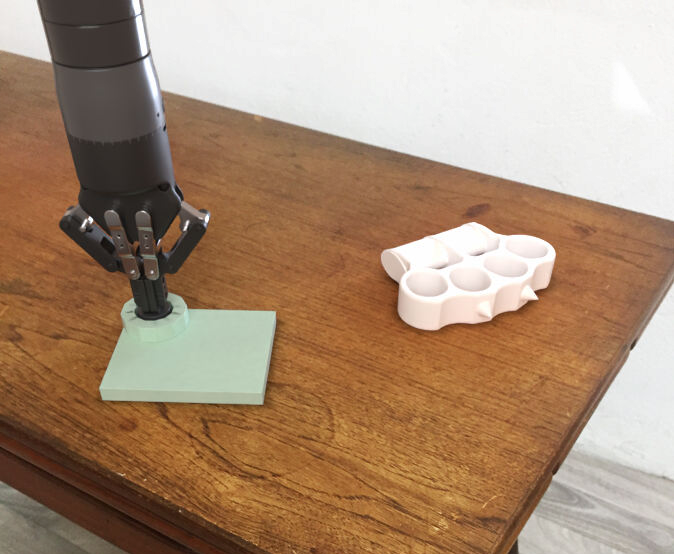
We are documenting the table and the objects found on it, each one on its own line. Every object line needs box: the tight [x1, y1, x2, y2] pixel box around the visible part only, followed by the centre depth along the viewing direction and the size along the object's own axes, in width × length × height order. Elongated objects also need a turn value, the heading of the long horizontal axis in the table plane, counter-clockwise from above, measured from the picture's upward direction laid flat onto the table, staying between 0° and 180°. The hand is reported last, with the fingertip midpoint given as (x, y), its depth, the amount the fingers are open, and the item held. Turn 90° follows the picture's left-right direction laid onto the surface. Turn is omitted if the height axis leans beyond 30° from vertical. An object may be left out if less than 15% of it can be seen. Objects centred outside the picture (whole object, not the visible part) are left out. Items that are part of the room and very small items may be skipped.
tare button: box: [137, 301, 171, 321], centre depth 70 cm, size 3×3×2 cm
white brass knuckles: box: [380, 221, 557, 331], centre depth 76 cm, size 3×18×15 cm
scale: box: [98, 291, 277, 406], centre depth 68 cm, size 14×12×3 cm
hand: (153, 308), depth 69 cm, fingers closed
